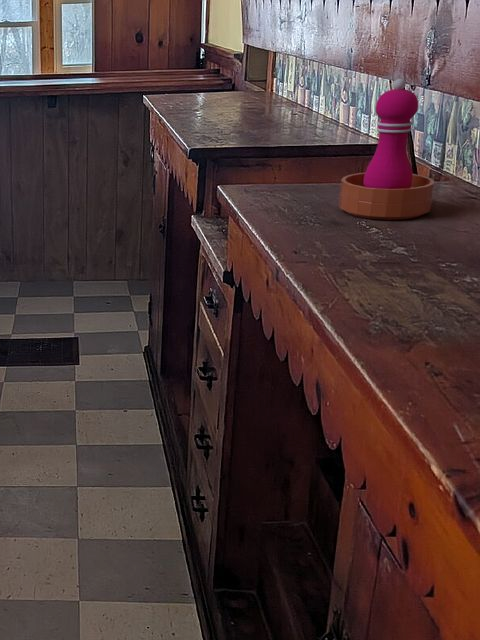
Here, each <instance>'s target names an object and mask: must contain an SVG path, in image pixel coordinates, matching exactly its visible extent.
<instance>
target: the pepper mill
mask: <svg viewBox="0 0 480 640" xmlns="http://www.w3.org/2000/svg"><path fill="white" fill-rule="evenodd" d="M392 86H393V87H392V88H393V89H390V90H387V91H385V92H384V93H382V94H381V95H380V96H379V97H378V99H377V101H376V103H375V113H376V115H377V117H378V119H379V121H378V122H377V128H376V131H377V132H378V142H377V146H376V149H375V151H374V154H373V157H372V158H371V160H370V162H369V164H368V166H367V168H366V170H365V172H364V173H365V175H364V180H363V184H364V186H365V187H371V188H385V189H403V188H410V187H411V185H412V180H413V174H414V173H413V169H412V165H411V162H410V159H409V156H408V148H407V146H408V136H409V133H410V132H411V131H413V130H412V125H413V122H412V121H411V120H412V119H413V117H414V116H415V115H416V114H417V112H418V110H419V99H418V97H417V95H416V94H415V93H414V92H413V91H411V90H409V89H405V88H406V86H407V82H406V80H405V79H404V78H400V77H399V78H397V79H396V80H394V81H393V83H392Z"/></svg>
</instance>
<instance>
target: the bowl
mask: <svg viewBox="0 0 480 640" xmlns="http://www.w3.org/2000/svg"><path fill="white" fill-rule="evenodd" d="M412 174H413V180H412V185H411V187H410V188H403V189H385V188H371V187H365V186H364V184H363V180H364V175H365V172H358V173H352V174H348V175H345V176H343V177H342V178H341V180H340V189H339V191H340V192H339V199H338V207H339V208H340V210H342V211H344V212H346V213H347V214H349V215H352V216H355V217H358V218H363V219H370V220H382V221H383V220H384V221H385V220H386V221H389V220H390V221H394V220H395V221H399V220H410V219H415V218H419V217H421V216H422V215H425V214H428V213H429V212H431V209H432V204H433V197H434V189H435V182H436V181H435V180H434V179H433V178H431V177H428V176H425V175H420V174H416V173H412Z"/></svg>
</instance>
